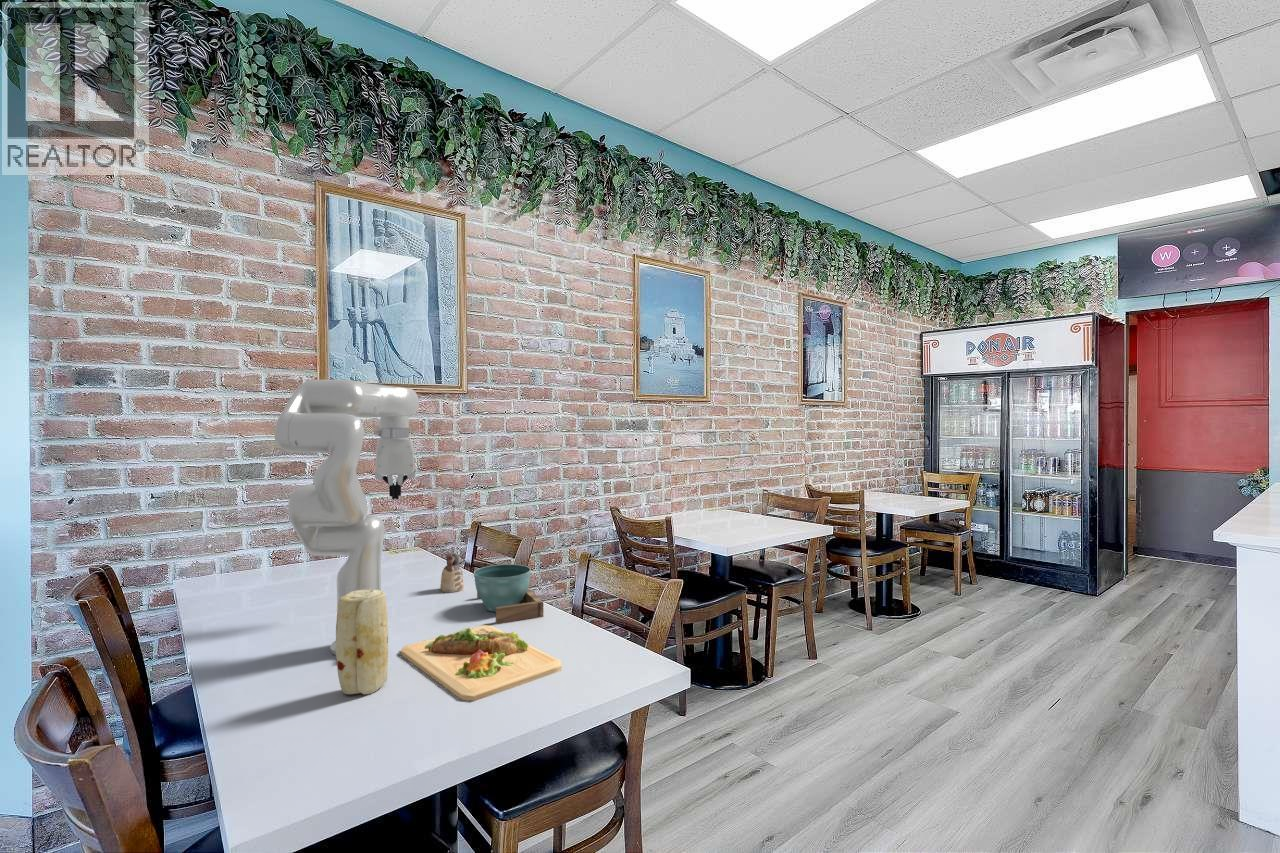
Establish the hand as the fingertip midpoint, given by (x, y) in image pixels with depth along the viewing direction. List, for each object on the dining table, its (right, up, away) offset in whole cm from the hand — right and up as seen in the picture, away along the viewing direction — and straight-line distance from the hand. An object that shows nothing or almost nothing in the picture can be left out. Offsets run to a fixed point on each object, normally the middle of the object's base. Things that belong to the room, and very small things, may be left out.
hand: (395, 498), depth 168 cm
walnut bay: (+31, -32, +3) cm, 45 cm away
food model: (+14, -33, -50) cm, 61 cm away
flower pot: (+30, -32, +3) cm, 44 cm away
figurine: (+9, -32, +22) cm, 40 cm away
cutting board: (+33, -33, -35) cm, 58 cm away
